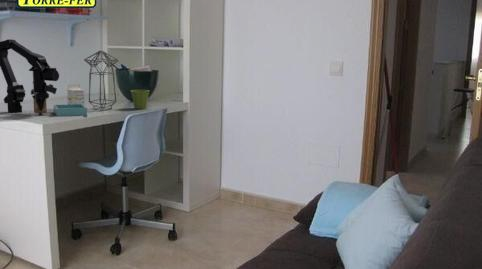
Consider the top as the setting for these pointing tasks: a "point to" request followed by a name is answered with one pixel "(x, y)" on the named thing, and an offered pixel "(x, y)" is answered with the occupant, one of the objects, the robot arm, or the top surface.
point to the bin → (70, 110)
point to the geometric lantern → (100, 76)
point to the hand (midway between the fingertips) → (40, 109)
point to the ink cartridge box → (75, 94)
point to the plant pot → (140, 98)
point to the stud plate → (40, 114)
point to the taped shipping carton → (36, 108)
